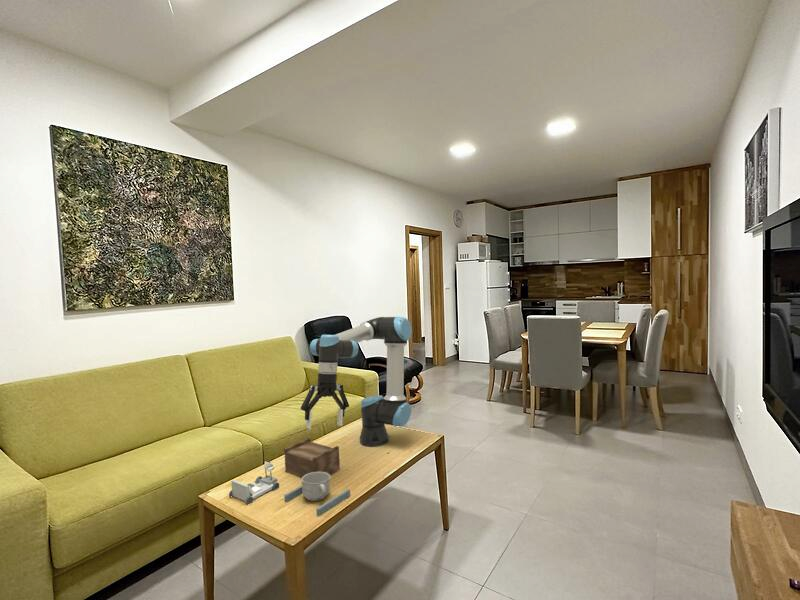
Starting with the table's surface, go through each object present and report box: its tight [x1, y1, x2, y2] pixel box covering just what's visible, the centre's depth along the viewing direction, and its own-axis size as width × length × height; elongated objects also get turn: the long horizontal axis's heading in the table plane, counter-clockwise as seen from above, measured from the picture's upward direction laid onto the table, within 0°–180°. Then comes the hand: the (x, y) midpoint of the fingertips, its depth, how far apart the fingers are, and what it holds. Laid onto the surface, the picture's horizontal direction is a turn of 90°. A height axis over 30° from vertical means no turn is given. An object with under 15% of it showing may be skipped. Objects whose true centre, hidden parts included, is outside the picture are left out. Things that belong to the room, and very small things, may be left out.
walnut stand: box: [283, 437, 341, 479], centre depth 178 cm, size 14×20×10 cm
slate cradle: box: [284, 485, 351, 517], centre depth 154 cm, size 16×19×2 cm
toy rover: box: [228, 460, 280, 506], centre depth 162 cm, size 18×10×12 cm
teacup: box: [301, 472, 331, 502], centre depth 154 cm, size 14×11×8 cm
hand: (324, 427), depth 159 cm, fingers open, 13 cm apart
